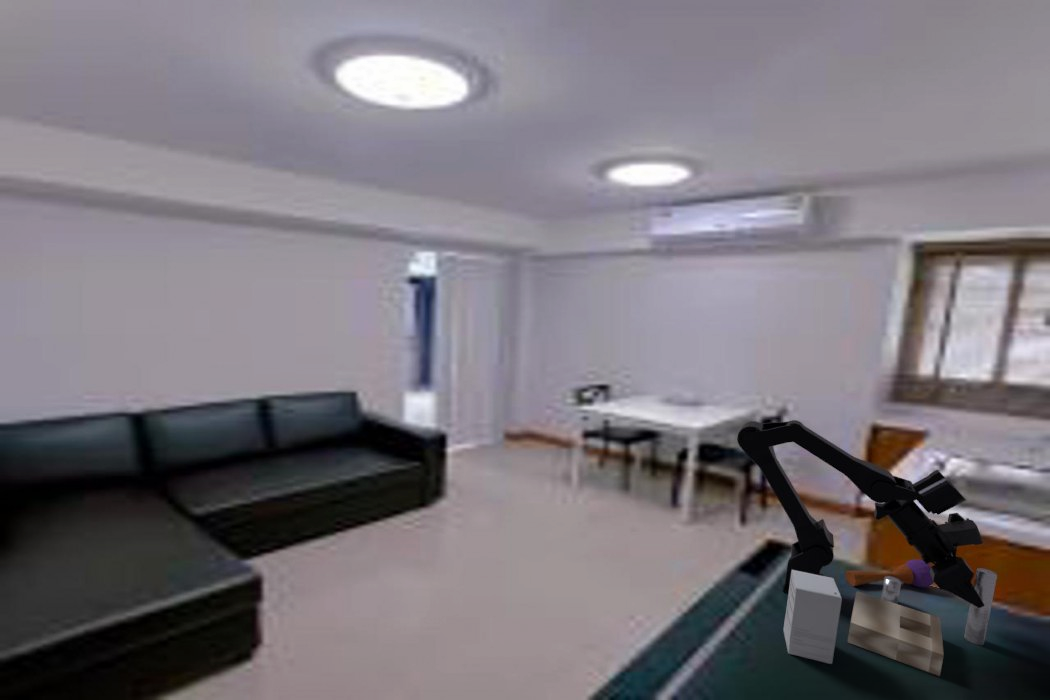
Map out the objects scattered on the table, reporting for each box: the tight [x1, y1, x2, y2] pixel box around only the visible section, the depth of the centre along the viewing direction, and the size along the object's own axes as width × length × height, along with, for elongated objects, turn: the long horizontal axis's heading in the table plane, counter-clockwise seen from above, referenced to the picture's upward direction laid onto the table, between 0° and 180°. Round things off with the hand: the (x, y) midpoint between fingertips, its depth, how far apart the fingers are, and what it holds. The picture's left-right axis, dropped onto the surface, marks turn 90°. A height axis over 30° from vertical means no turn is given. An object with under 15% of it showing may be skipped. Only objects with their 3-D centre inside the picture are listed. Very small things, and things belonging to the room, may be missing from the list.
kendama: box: [844, 558, 935, 589], centre depth 128 cm, size 6×6×20 cm
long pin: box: [963, 567, 998, 646], centre depth 108 cm, size 3×3×14 cm
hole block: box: [847, 590, 944, 677], centre depth 106 cm, size 14×14×4 cm
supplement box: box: [782, 570, 843, 665], centre depth 102 cm, size 7×7×13 cm
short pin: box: [880, 576, 902, 605], centre depth 120 cm, size 3×3×5 cm
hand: (975, 594), depth 108 cm, fingers open, 9 cm apart
